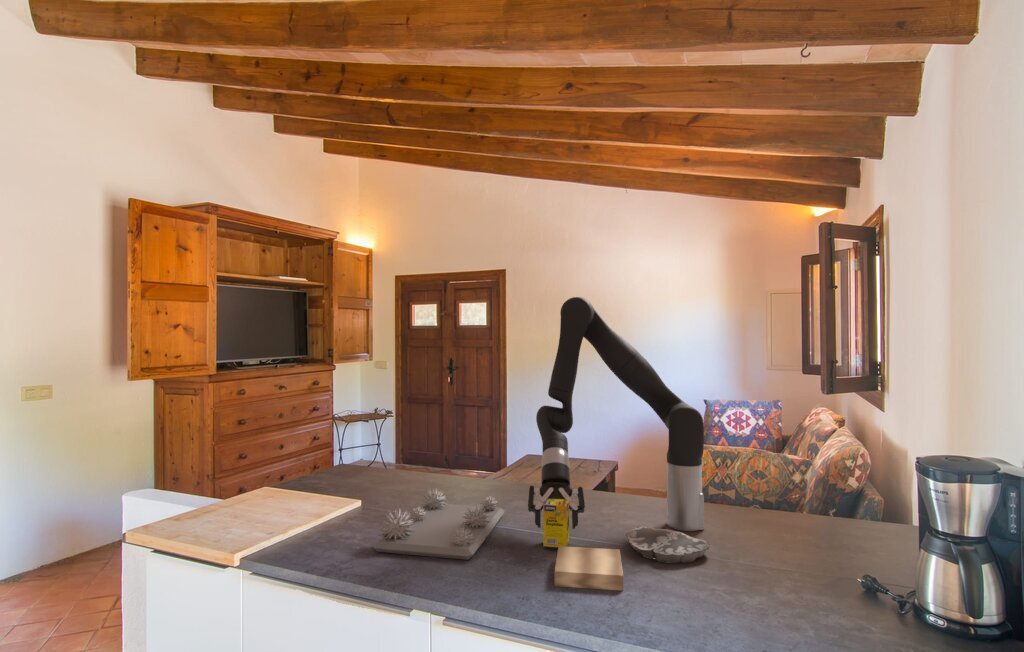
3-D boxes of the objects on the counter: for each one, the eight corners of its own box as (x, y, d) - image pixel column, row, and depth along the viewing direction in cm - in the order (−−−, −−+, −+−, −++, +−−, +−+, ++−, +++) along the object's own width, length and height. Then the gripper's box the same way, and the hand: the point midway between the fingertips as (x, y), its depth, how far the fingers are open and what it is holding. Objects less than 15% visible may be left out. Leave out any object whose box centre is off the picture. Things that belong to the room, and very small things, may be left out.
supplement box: (567, 551, 130) (567, 506, 130) (542, 549, 131) (542, 504, 131) (569, 542, 136) (569, 499, 136) (546, 541, 137) (546, 497, 137)
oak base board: (619, 562, 123) (619, 549, 123) (623, 590, 109) (623, 575, 109) (558, 559, 125) (558, 546, 125) (554, 585, 111) (554, 571, 111)
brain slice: (611, 554, 129) (611, 542, 129) (640, 534, 142) (640, 523, 142) (693, 576, 117) (693, 562, 117) (716, 552, 130) (716, 539, 130)
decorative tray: (471, 565, 123) (471, 521, 123) (367, 555, 128) (367, 513, 129) (505, 516, 157) (505, 482, 157) (422, 510, 162) (422, 477, 163)
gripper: (528, 460, 142) (527, 518, 130) (582, 461, 141) (586, 520, 129) (529, 476, 147) (527, 533, 135) (581, 476, 146) (584, 534, 134)
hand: (556, 526), depth 132 cm, fingers open, 8 cm apart
